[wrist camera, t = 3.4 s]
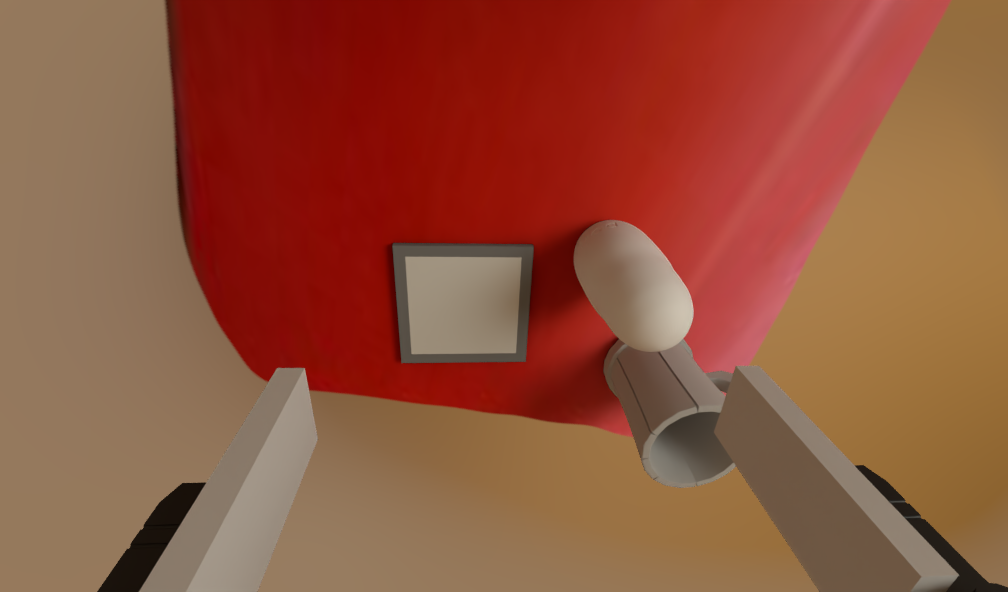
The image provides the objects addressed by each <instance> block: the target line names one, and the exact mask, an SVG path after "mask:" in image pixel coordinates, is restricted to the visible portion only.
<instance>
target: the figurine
mask: <svg viewBox="0 0 1008 592" xmlns="http://www.w3.org/2000/svg"><path fill="white" fill-rule="evenodd" d="M574 268H575V272H576V275H577V278H578V280H579V282H580V284H581V286H582V288H583V290H584V292H585V294H586V296H587V297H588V299H589V301H590V303H591V304H592V306H593V307H594V309H595V310H596V311H597V313H598V314H599V315H600V316H601V317H602V318H603V319H604V320H605V322H606V323H607V325H608V326H609V328H610V329H611V330H612V332H613V333H614V334H615V335H616V336H617V337H618V338H619V339H620V340H621V341H622V342H624V343H625V344H627V345H628V346H630V347H632V348H634V349H637V350H640V351H645V352H658V351H663V350H667V349H669V348H671V347H673V346H675V345H676V344H678V343H679V342H680V341H681V340H682V339H683V338H684V337H685V335H686V334H687V332H688V331H689V329H690V326H691V324H692V320H693V304H692V299H691V296H690V294H689V291H688V289H687V288H686V286H685V284H684V283H683V281H682V280H681V278H680V277H679V276H678V274H677V273H676V272H675V271H674V269H673V267H672V265H671V264H670V262H669V261H668V259H667V258H666V257H665V255H664V254H663V253H662V252H661V251H660V249H659V248H658V247H657V246H656V245H655V244H654V243H653V242H652V240H651V239H650V238H649V237H648V236H647V235H646V234H644V233H643V232H642V231H641V230H639V229H638V228H636V227H635V226H633V225H631V224H629V223H626V222H623V221H618V220H605V221H601V222H598V223H595V224H594V225H592V226H590V227H589V228H588V229H586V230H585V231H584V232H583V233H582V235H581V236H580V237H579V239H578V241H577V243H576V246H575V250H574Z"/></svg>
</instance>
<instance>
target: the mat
mask: <svg viewBox="0 0 1008 592" xmlns="http://www.w3.org/2000/svg"><path fill="white" fill-rule="evenodd" d="M392 247H393V259H394V272H395V285H396V298H397V311H398V324H399V337H400V349H401V362H402V363H445V362H526V349H527V335H528V320H529V306H530V292H531V278H532V264H533V250H534V246H533V244H446V243H393V245H392Z"/></svg>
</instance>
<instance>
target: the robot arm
mask: <svg viewBox="0 0 1008 592" xmlns="http://www.w3.org/2000/svg"><path fill="white" fill-rule="evenodd" d="M714 433H715V435H716V436H717V438H718V439H719V441H720V442H721V444H722V445H723V447H724V448H725V450H726V451H727V453H728V454H729V456H730V458H731V459H732V461H733V462H734V464H735V465H736V467H737V468H738V470H739V471H740V472H741V474H742V476H743V477H744V478H745V480H746V482H747V483H748V485H749V486H750V488H751V489H752V491H753V492H754V493H755V495H756V496H757V498H758V500H759V501H760V503H761V504H762V506H763V507H764V509H765V510H766V512H767V513H768V515H769V516H770V518H771V519H772V521H773V522H774V524H775V525H776V527H777V528H778V530H779V531H780V533H781V534H782V536H783V537H784V539H785V540H786V542H787V543H788V545H789V546H790V548H791V549H792V551H793V552H794V554H795V555H796V557H797V558H798V560H799V562H800V563H801V565H802V566H803V567H804V569H805V571H806V572H807V573H808V575H809V577H810V578H811V580H812V581H813V583H814V584H815V586H816V587H817V589H818V590H819V592H1008V587H1005V586H1002V585H999V584H993V583H988V582H987V581H986V580H985V579H984V578H983V577H982V576H981V575H980V574H979V573H978V572H977V571H976V570H975V569H974V568H973V567H972V566H971V565H970V564H969V563H968V562H967V561H966V560H965V559H964V558H963V557H962V556H961V555H960V554H959V553H958V552H957V551H956V550H955V549H954V548H953V547H952V546H951V545H950V544H949V543H948V542H947V541H946V540H945V539H944V538H943V537H942V536H941V535H940V534H939V533H938V532H937V531H936V530H935V529H934V528H933V527H932V526H931V525H930V524H929V523H928V522H926V520H925V519H921V516H920V514H919V513H918V512H917V511H916V510H915V509H914V508H913V507H912V506H911V505H910V504H907V503H906V502H905V499H904V498H903V497H902V496H901V495H900V494H899V493H898V492H897V491H896V490H895V489H894V488H893V487H892V486H891V485H890V484H889V483H888V482H887V481H886V480H884V479H883V478H881V477H880V476H878V475H877V474H875V473H874V472H872V471H871V470H869V469H868V468H866V467H865V466H864V465H859V466H854V465H853V464H852V463H851V462H850V461H849V459H848V458H847V457H846V456H845V455H844V454H843V453H842V452H841V451H840V450H839V449H838V448H837V447H836V446H835V445H834V444H833V443H832V442H831V441H830V440H829V439H828V437H827V436H825V434H824V433H823V432H822V431H821V430H820V429H819V428H818V427H817V426H816V425H815V424H814V423H813V422H812V421H811V420H810V419H809V418H808V417H807V415H805V413H804V412H803V411H802V410H801V409H800V408H799V407H798V406H797V405H796V404H795V403H794V402H793V401H792V400H791V399H790V398H789V397H788V396H787V395H786V394H785V392H784V391H783V390H781V388H779V386H778V385H777V384H776V383H775V382H774V381H773V380H772V379H771V378H770V377H769V376H768V375H767V374H766V373H765V372H764V371H763V369H761V367H760V366H736V367H735V370H734V373H733V376H732V379H731V382H730V385H729V388H728V391H727V394H726V397H725V400H724V403H723V406H722V409H721V412H720V415H719V418H718V421H717V424H716V427H715V430H714ZM317 440H318V438H317V432H316V427H315V422H314V416H313V411H312V405H311V400H310V395H309V389H308V384H307V378H306V373H305V368H277V369H276V371H275V373H274V374H273V376H272V377H271V379H270V381H269V382H268V384H267V386H266V387H265V389H264V391H263V392H262V394H261V395H260V397H259V399H258V400H257V402H256V403H255V405H254V407H253V408H252V410H251V412H250V413H249V415H248V416H247V418H246V419H245V421H244V423H243V424H242V426H241V428H240V429H239V431H238V433H237V434H236V436H235V437H234V439H233V441H232V442H231V444H230V445H229V447H228V449H227V450H226V452H225V453H224V455H223V457H222V458H221V460H220V462H219V463H218V465H217V467H216V468H215V470H214V471H213V473H212V475H211V476H210V478H209V479H208V481H207V483H182V484H181V485H180V486H178V487H177V488H176V489H175V490H174V491H172V492H171V493H170V494H169V495H168V496H167V497H165V498H164V499H163V500H162V501H161V502H160V503H159V504H158V505H157V507H156V508H155V510H154V511H153V512H152V514H151V515H150V517H149V518H148V520H147V521H146V523H145V524H144V528H143V529H142V530H140V531H139V533H138V534H137V535H136V537H135V538H134V540H133V541H132V543H131V546H130V548H129V549H127V550H126V551H125V553H124V554H123V556H122V557H121V558H120V560H119V561H118V563H117V564H116V566H115V567H114V568H113V570H112V571H111V573H110V574H109V576H108V577H107V578H106V580H105V581H104V583H103V584H102V586H101V587H100V589H99V590H98V591H97V592H258V589H259V587H260V584H261V581H262V579H263V576H264V574H265V571H266V569H267V566H268V564H269V561H270V559H271V556H272V554H273V551H274V549H275V546H276V544H277V541H278V538H279V536H280V533H281V531H282V528H283V526H284V523H285V521H286V518H287V516H288V513H289V511H290V508H291V506H292V503H293V501H294V498H295V495H296V493H297V490H298V488H299V485H300V482H301V480H302V477H303V475H304V473H305V470H306V468H307V465H308V463H309V460H310V457H311V455H312V452H313V450H314V447H315V445H316V442H317Z"/></svg>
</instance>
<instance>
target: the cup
mask: <svg viewBox="0 0 1008 592" xmlns="http://www.w3.org/2000/svg"><path fill="white" fill-rule="evenodd" d="M603 372H604V375H605V378H606V381H607V384H608V386H609V388H610V390H611V391H612V392H613V393H614V394H615V395H616V397H618V398H619V400H620V403H621V405H622V408H623V410H624V412H625V415H626V417H627V420H628V423H629V426H630V428H631V431H632V434H633V437H634V440H635V443H636V446H637V449H638V452H639V455H640V458H641V461H642V464H643V467H644V470H645V471H646V472H647V474H648V475H649V476H650V477H651V478H653V480H655V481H657V482H659V483H661V484H663V485H667V486H672V487H679V488H683V487H695V485H697V486H699V485H703V484H706V483H709V482H713V481H715V480H717V479H718V478H720V477H722V476H724V475H726V474H728V473H729V472H730V471H731V470H732V469H733V468H735V467H736V465H735V464H734V462H733V461H732V459H731V458H730V456H729V454H728V453H727V451H726V450H725V448H724V447H723V445H722V444H721V442H720V441H719V439H718V438H717V436H716V435H715V433H714V430H715V427H716V424H717V421H718V418H719V415H720V412H721V409H722V406H723V403H724V400H725V397H726V396H725V395H724V394H723V393H722V392H721V391H723V392H725V393H727V391H728V388H729V385H730V382H731V379H732V376H733V374H732V373H728V372H724V371H717V372H710V373H704V372H703V371H702V369H701V368H700V367H699V366H698V364H697V363H696V362H695V361H694V359H693V355H692V350H691V349H690V347H689V346H688V345H687V343H686V342H685V340H684V339H682V340H681V341H680V342H679V343H678V344H676V345H675V346H673V347H671V348H669V349H667V350H663V351H658V352H645V351H640V350H637V349H634V348H632V347H630V346H628V345H627V344H625V343H624V342H622V341H621V340H620V339H619V340H618V341H617V342H616V343H615V344H614V345H613V346H612V347H611V348H610V350H609V352H608V354H607V356H606V358H605V360H604V371H603Z"/></svg>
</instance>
